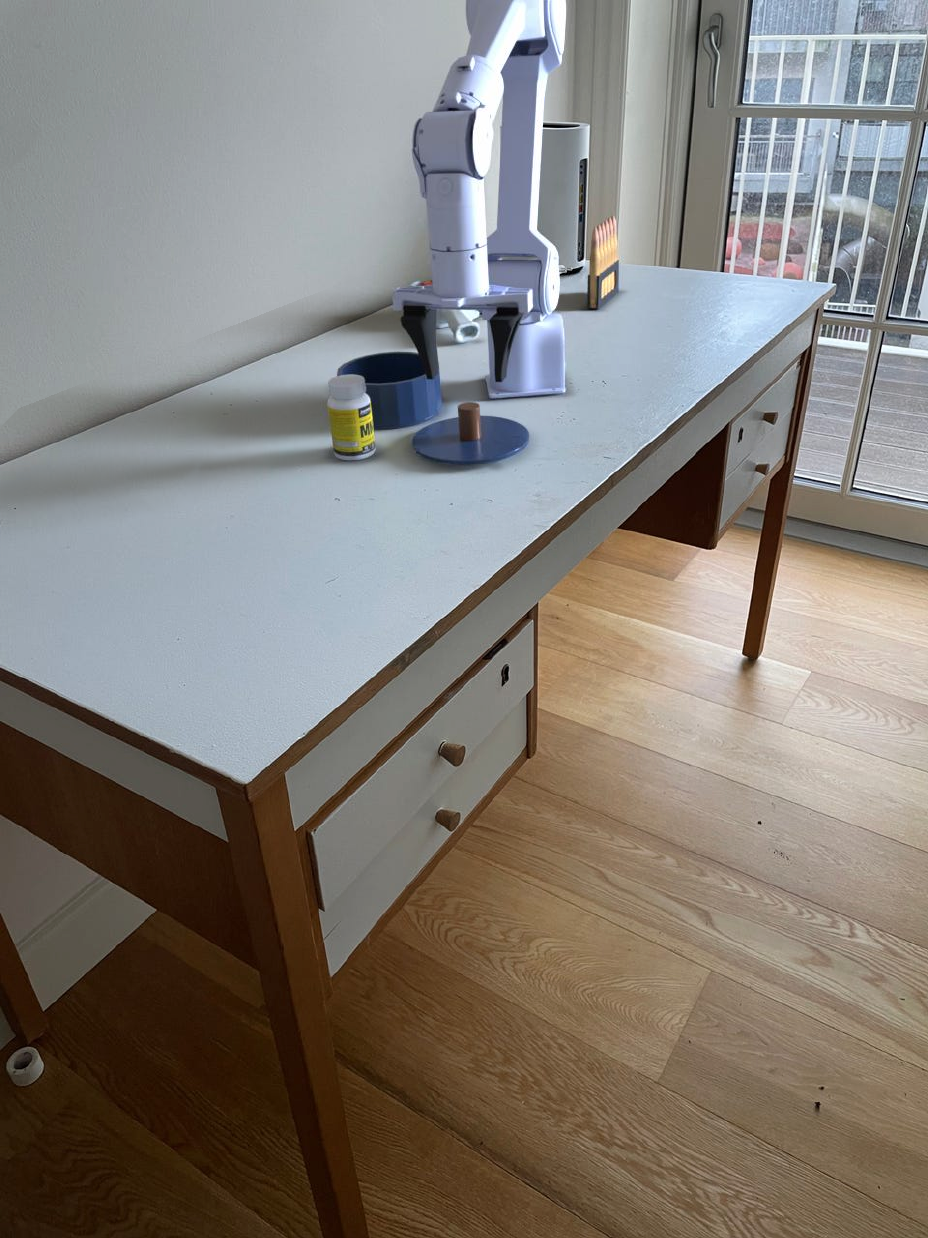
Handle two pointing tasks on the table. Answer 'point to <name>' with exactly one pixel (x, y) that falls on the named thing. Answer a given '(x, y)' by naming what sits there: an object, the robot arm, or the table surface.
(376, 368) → the tin
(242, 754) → the table surface
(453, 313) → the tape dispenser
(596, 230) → the ammunition clip
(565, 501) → the table surface
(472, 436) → the tin lid
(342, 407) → the supplement bottle
